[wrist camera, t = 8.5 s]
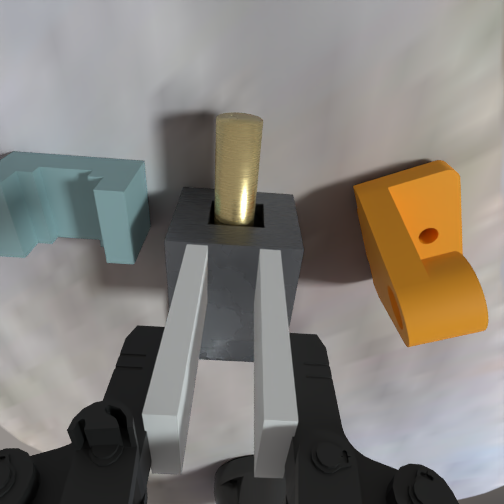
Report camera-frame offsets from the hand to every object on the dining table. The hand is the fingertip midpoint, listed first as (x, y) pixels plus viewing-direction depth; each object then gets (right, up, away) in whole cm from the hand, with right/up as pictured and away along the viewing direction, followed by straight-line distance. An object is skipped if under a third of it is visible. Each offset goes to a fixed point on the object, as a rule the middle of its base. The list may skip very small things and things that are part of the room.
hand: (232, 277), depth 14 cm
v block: (-13, +6, +16) cm, 22 cm away
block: (-1, -2, +22) cm, 22 cm away
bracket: (+14, +4, +18) cm, 23 cm away
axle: (-1, +3, +16) cm, 16 cm away
